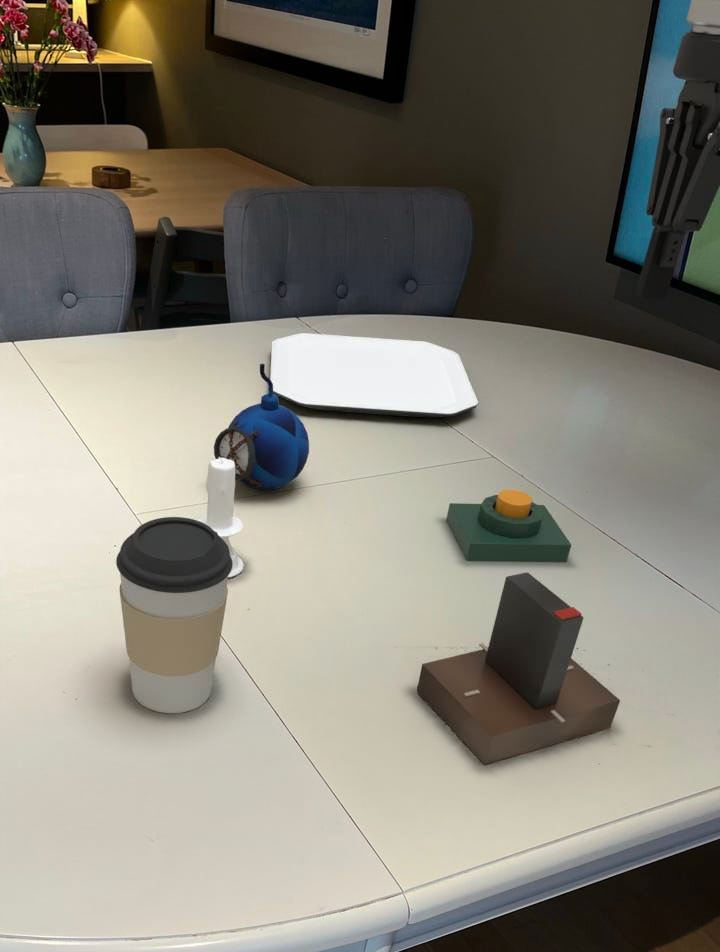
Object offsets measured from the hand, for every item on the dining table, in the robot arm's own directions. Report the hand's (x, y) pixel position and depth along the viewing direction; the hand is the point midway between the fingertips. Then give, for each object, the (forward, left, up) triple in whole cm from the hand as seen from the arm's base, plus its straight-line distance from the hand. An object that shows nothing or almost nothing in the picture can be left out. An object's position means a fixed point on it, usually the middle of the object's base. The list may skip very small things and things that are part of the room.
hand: (650, 295), depth 103 cm
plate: (+20, -37, -25) cm, 49 cm away
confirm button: (+13, +9, -21) cm, 26 cm away
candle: (+45, +15, -25) cm, 53 cm away
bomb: (+39, -3, -25) cm, 46 cm away
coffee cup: (+50, +35, -25) cm, 66 cm away
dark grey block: (+21, +38, -21) cm, 48 cm away
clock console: (+21, +38, -24) cm, 50 cm away
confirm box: (+13, +9, -24) cm, 29 cm away
